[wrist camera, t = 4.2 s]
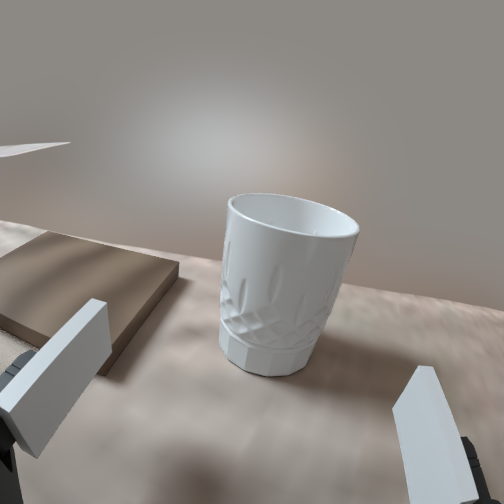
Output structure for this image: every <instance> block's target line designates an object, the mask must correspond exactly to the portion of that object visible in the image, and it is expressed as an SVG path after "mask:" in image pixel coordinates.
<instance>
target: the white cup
mask: <svg viewBox="0 0 504 504" xmlns="http://www.w3.org/2000/svg"><path fill="white" fill-rule="evenodd" d="M359 232H360V227H359V225H358V224H357V223H356V221H354V220H353V219H352V218H351V217H349V216H347V215H346V214H344V213H342V212H340V211H338V210H335V209H333V208H331V207H328V206H326V205H323V204H319V203H316V202H312V201H309V200H305V199H301V198H297V197H291V196H286V195H279V194H268V193H247V194H241V195H236V196H234V197H232V198H230V199H229V201H228V207H227V219H226V229H225V240H224V251H223V263H222V274H221V291H220V309H221V322H220V333H219V345H220V347H221V349H222V351H223V352H224V354H225V356H226V358H227V359H228V360H230V361H231V362H233V363H234V364H236V365H237V366H238V367H240V368H241V369H243V370H245V371H248V372H252V373H255V374H259V375H263V376H283V375H290V374H292V373H294V372H296V371H298V370H300V369H301V368H303V367H305V365H306V364H307V362H308V360H309V358H310V356H311V354H312V352H313V350H314V347H315V345H316V342H317V340H318V337H319V335H320V334H321V333H322V332H323V330H324V327H325V324H326V322H327V319H328V317H329V315H330V313H331V311H332V308H333V306H334V303H335V300H336V298H337V295H338V292H339V289H340V287H341V284H342V281H343V278H344V276H345V273H346V270H347V267H348V264H349V261H350V258H351V255H352V253H353V250H354V246H355V244H356V241H357V238H358V234H359Z"/></svg>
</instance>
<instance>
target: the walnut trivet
mask: <svg viewBox="0 0 504 504" xmlns="http://www.w3.org/2000/svg"><path fill="white" fill-rule="evenodd" d="M178 274H179V262H177V261H173V260H168V259H164V258H159V257H155V256H151V255H146V254H142V253H138V252H133V251H129V250H125V249H120V248H116V247H112V246H108V245H104V244H99V243H95V242H91V241H87V240H83V239H79V238H75V237H70V236H66V235H62V234H58V233H54V232H50V231H47V232H45V233H44V234H42V235H40V236H38V237H36V238H34V239H33V240H31V241H29V242H27V243H26V244H24V245H22V246H20V247H18V248H17V249H15V250H13V251H12V252H10V253H8V254H6V255H5V256H3V257H1V258H0V328H2V329H4V330H5V331H7V332H9V333H11V334H13V335H15V336H17V337H18V338H20V339H22V340H24V341H26V342H28V343H30V344H32V345H34V346H36V347H38V348H40V349H41V348H42V347H43V346H44V345H45V344H46V343H47V342H48V341H49V340H50V339H51V338H52V337H53V336H54V335H55V334H56V333H57V332H58V331H59V330H60V329H61V328H62V327H63V326H64V325H65V324H66V323H67V322H68V321H69V320H70V319H71V318H72V317H73V316H74V315H75V314H76V313H77V312H78V311H79V310H80V309H81V308H82V307H83V306H84V305H85V304H86V303H87V302H88V301H89V300H90V299H92V298H93V299H97V300H100V301H103V302H106V303H107V310H108V321H109V330H110V339H111V347H112V353H111V354H110V356H109V357H108V358H107V360H106V361H105V362H104V364H103V365H102V366H101V368H100V369H99V371H98V372H97V373H98V374H100V375H103V376H105V375H106V373H107V372H108V371H109V369H110V368H111V366H112V365H113V364H114V362H115V361H116V359H117V358H118V357H119V355H120V354H121V352H122V351H123V350H124V348H125V347H126V346H127V344H128V343H129V341H130V340H131V339H132V337H133V336H134V335H135V333H136V332H137V331H138V329H139V328H140V326H141V325H142V324H143V322H144V321H145V320H146V318H147V317H148V316H149V314H150V313H151V312H152V310H153V309H154V308H155V306H156V305H157V304H158V302H159V301H160V300H161V298H162V297H163V296H164V294H165V293H166V292H167V291H168V289H169V288H170V287H171V285H172V284H173V283H174V281H175V280H176V279H177V277H178Z"/></svg>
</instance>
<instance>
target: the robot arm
mask: <svg viewBox="0 0 504 504" xmlns="http://www.w3.org/2000/svg"><path fill="white" fill-rule="evenodd" d="M111 353H112V347H111V339H110V330H109V321H108V310H107V303H106V302H103V301H100V300H97V299H93V298H92V299H90V300H89V301H88V302H87V303H86V304H85V305H84V306H83V307H82V308H81V309H80V310H79V311H78V312H77V313H76V314H75V315H74V316H73V317H72V318H71V319H70V320H69V321H68V322H67V323H66V324H65V325H64V326H63V327H62V328H61V329H60V330H59V331H58V332H57V333H56V334H55V335H54V336H53V337H52V338H51V339H50V340H49V341H48V342H47V343H46V344H45V345H44V346H43V347H42V348H41V349H40V350H39V351H38V352H35V351H33V350H29V351H27V352H25V353H23V354H21V355H19V356H18V357H17V358H16V359H15V361H14V362H13V363H12V365H11V366H9V367H8V368H7V369H6V370H5V372H3V373H2V374H1V375H0V504H24V503H23V499H22V494H21V489H20V484H19V479H18V473H17V467H16V460H15V453H14V449H13V446H12V445H13V444H14V443H15V441H16V442H17V443H18V445H19V446H20V448H21V449H22V450H23V451H25V452H26V453H28V454H30V455H31V456H33V457H35V458H36V459H38V457H39V456H40V454H41V453H42V451H43V450H44V448H45V446H46V445H47V443H48V442H49V441H50V439H51V438H52V436H53V435H54V433H55V432H56V430H57V429H58V427H59V426H60V424H61V423H62V421H63V420H64V418H65V417H66V416H67V414H68V413H69V411H70V410H71V408H72V407H73V406H74V404H75V403H76V401H77V400H78V398H79V397H80V396H81V394H82V393H83V391H84V390H85V389H86V387H87V386H88V384H89V383H90V382H91V380H92V379H93V377H94V376H95V375H96V373H97V372H98V371H99V369H100V368H101V366H102V365H103V364H104V362H105V361H106V360H107V358H108V357H109V356H110V354H111ZM392 410H393V414H394V419H395V423H396V428H397V433H398V437H399V442H400V447H401V452H402V458H403V463H404V468H405V474H406V480H407V486H408V492H409V499H410V504H501V503H500V502H499V501H497V500H494V499H491V498H490V495H489V492H488V488H487V485H486V482H485V478H484V475H483V472H482V469H481V467H480V463H479V460H478V459H477V454H476V451H475V448H474V446H473V444H472V443H471V442H470V441H469V439H468V438H467V437H460V435H459V432H458V429H457V427H456V424H455V421H454V418H453V416H452V413H451V410H450V408H449V405H448V403H447V400H446V397H445V395H444V392H443V390H442V388H441V385H440V383H439V380H438V378H437V375H436V373H435V371H434V368H433V367H429V366H419V365H418V367H417V369H416V370H415V372H414V374H413V376H412V377H411V379H410V381H409V382H408V384H407V386H406V387H405V389H404V391H403V392H402V394H401V396H400V397H399V399H398V400H397V402H396V404H395V405H394V407H393V408H392Z"/></svg>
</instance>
